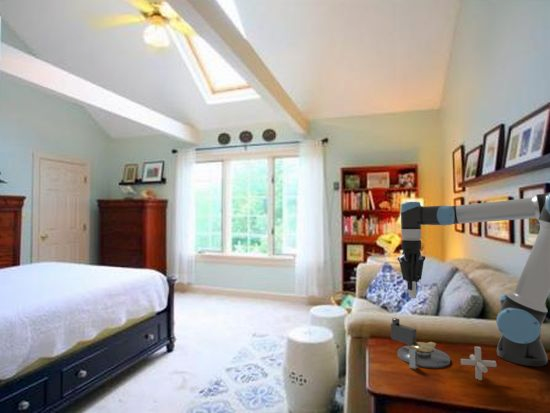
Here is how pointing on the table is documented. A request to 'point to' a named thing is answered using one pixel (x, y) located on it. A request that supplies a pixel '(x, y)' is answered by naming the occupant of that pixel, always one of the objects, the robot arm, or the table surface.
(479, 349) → the pipe connector
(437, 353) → the post plate
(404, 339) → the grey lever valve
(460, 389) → the table surface
